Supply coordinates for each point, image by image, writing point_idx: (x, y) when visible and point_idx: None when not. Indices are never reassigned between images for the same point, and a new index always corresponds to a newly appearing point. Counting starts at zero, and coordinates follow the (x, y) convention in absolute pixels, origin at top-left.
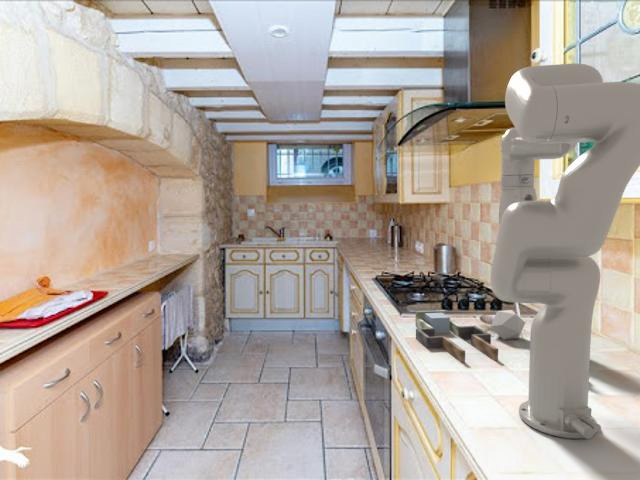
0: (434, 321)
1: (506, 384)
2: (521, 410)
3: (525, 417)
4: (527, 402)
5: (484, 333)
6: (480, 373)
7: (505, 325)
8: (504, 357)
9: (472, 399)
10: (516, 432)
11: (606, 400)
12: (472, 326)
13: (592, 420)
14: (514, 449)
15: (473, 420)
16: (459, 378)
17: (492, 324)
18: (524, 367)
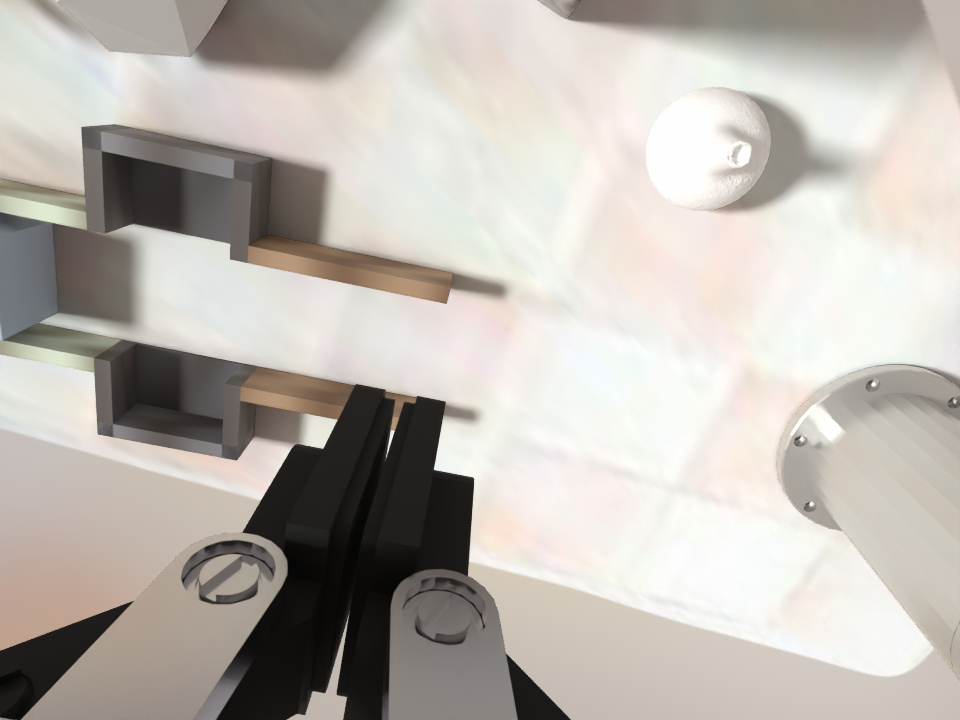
0: (14, 318)
1: (639, 401)
2: (810, 514)
3: (837, 529)
4: (790, 471)
5: (221, 175)
6: (533, 415)
7: (198, 31)
8: (433, 221)
9: (668, 544)
10: (842, 560)
11: (893, 198)
12: (93, 153)
13: (953, 395)
14: (881, 605)
15: (751, 603)
16: (539, 495)
17: (113, 46)
18: (552, 229)
